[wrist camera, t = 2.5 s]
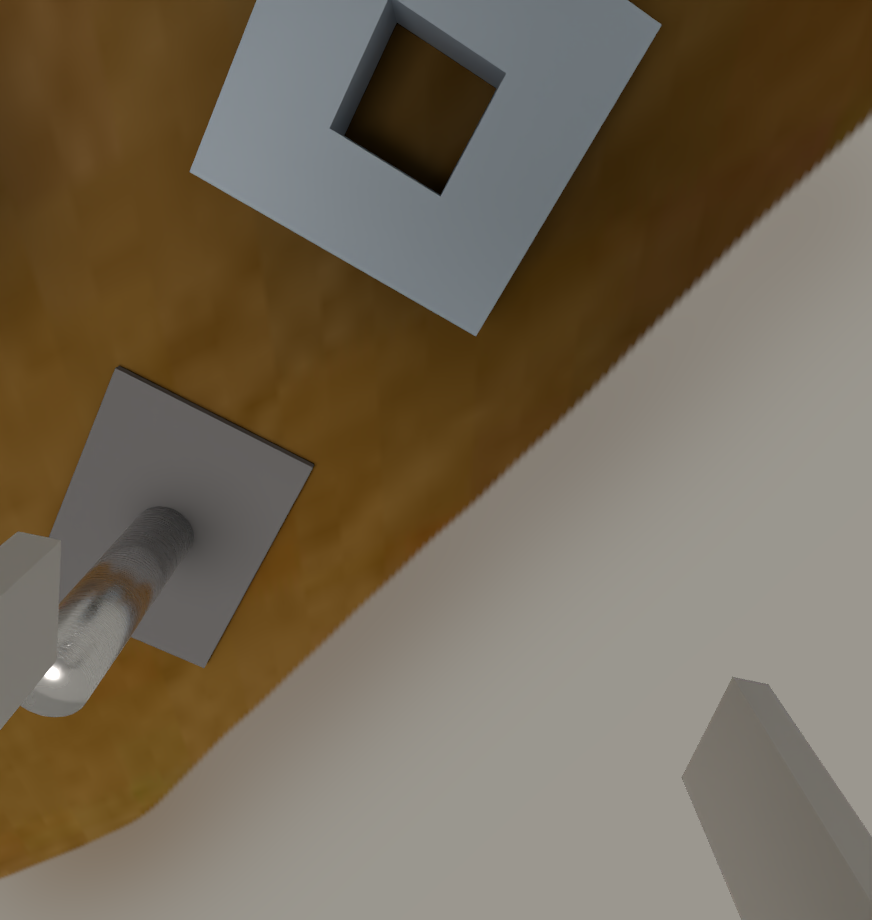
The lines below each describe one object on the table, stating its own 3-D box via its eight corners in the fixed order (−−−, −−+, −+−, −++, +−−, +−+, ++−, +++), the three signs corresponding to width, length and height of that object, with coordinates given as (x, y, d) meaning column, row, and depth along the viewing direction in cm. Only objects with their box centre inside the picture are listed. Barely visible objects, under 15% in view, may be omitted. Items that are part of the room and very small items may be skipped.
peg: (125, 542, 34) (-8, 696, 24) (146, 496, 33) (15, 637, 23) (181, 567, 34) (73, 728, 24) (202, 523, 33) (100, 671, 23)
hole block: (222, 173, 28) (189, 171, 24) (353, -148, 24) (338, -209, 20) (471, 317, 30) (475, 336, 26) (629, 47, 26) (661, 24, 22)
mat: (31, 588, 35) (27, 592, 35) (119, 365, 31) (115, 368, 30) (206, 663, 37) (204, 667, 37) (314, 464, 33) (312, 467, 32)
